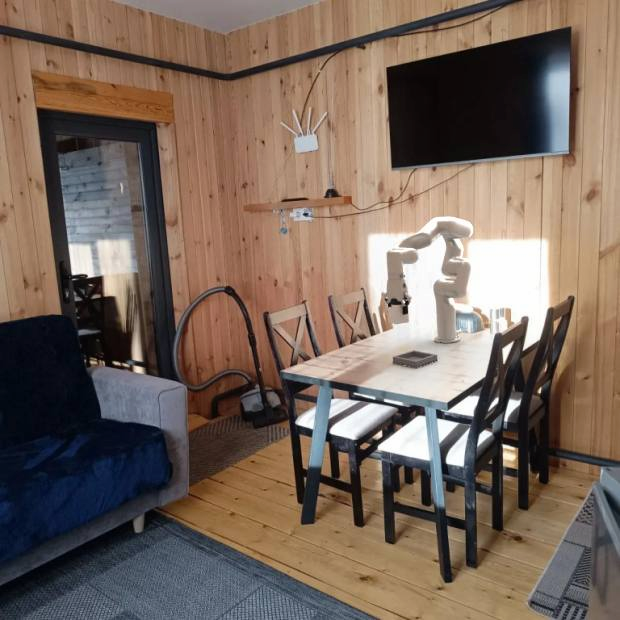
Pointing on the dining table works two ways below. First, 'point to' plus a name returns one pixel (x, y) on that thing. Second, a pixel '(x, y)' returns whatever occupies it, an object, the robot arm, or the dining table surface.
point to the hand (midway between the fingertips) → (398, 313)
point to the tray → (415, 358)
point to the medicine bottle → (397, 313)
